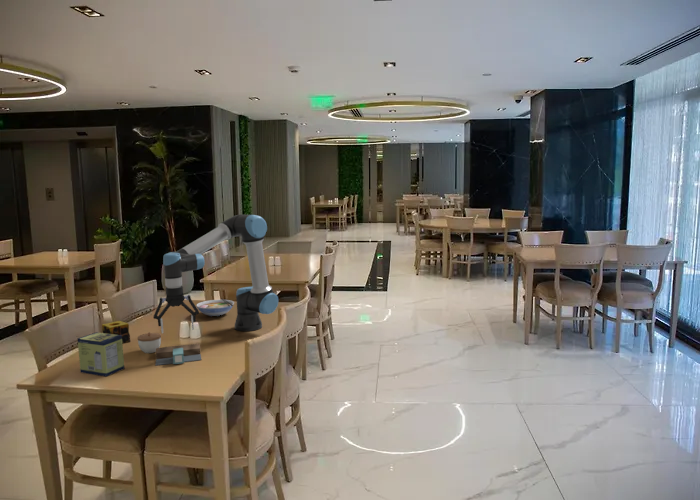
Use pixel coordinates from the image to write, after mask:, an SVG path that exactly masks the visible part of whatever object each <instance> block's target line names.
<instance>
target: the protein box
mask: <svg viewBox="0 0 700 500" xmlns="http://www.w3.org/2000/svg"><path fill="white" fill-rule="evenodd" d="M123 348H124V347H123V344H122V335H115V334H106V333H103V332H98V331H96V332H93V333H91V334H87V335H84V336H80V337H79V338H77V349H78V359H79V370H80V371H79V373H81V374H88V375H94V376H100V377H105V378H106V377H109V376H111V375H113V374H115V373H116V374H117V372H118V373H119V371H123V370H125V362H124V361H125V360H124V349H123Z"/></svg>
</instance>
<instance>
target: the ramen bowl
mask: <svg viewBox="0 0 700 500" xmlns="http://www.w3.org/2000/svg"><path fill="white" fill-rule="evenodd" d="M234 304H235V301H233V300H232V299H231V300H229V299H224V298H223V297H221V298H220V299H210V300H209V299H208V300H204V301H200V302H198V303H196V305H195V306H196V308H197V309H198V311H199V312H200V313H202V314H203V315H206V316H209V317H212V316H217V317H220V315H221V316H222V315H225V314H227V313H228V312H230V311H231V310H232V308H233V306H234Z"/></svg>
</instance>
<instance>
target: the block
mask: <svg viewBox="0 0 700 500" xmlns="http://www.w3.org/2000/svg"><path fill="white" fill-rule="evenodd" d="M173 363H174V364H173V365H178V364H185V362H184V354H183V348H176V349H173Z"/></svg>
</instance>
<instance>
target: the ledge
mask: <svg viewBox="0 0 700 500" xmlns="http://www.w3.org/2000/svg"><path fill="white" fill-rule="evenodd" d="M176 348H183V354H184V356H189V355H197V354H201V345H200V343H191V344H183V345H182V344H181V345H174V346H173V345H171V346H165V347H159V348H156V352H155V360H156V359H163V358H172V357H173V349H176Z"/></svg>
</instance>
